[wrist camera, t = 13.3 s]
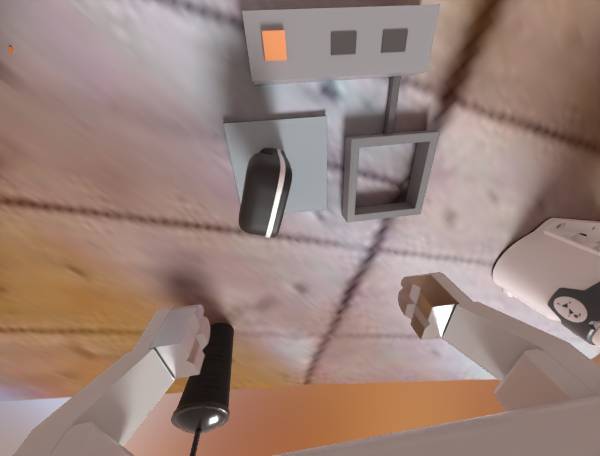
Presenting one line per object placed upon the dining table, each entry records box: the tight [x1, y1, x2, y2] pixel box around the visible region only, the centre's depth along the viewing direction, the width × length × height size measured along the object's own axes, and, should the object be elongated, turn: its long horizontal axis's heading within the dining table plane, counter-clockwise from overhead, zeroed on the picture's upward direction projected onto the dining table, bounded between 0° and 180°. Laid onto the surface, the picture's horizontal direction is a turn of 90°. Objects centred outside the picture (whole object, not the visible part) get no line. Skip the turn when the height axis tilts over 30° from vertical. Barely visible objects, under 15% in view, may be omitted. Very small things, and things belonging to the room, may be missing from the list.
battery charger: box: [239, 148, 292, 238], centre depth 22 cm, size 7×4×11 cm, turn 164°
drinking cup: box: [171, 323, 234, 456], centre depth 33 cm, size 8×8×20 cm
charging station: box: [242, 4, 440, 222], centre depth 25 cm, size 22×22×4 cm
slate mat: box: [224, 116, 327, 214], centre depth 28 cm, size 12×12×1 cm
